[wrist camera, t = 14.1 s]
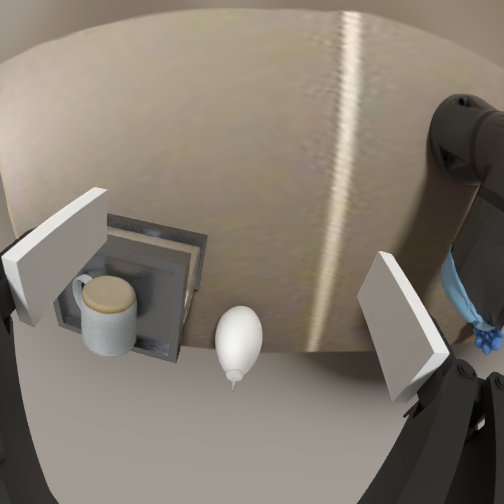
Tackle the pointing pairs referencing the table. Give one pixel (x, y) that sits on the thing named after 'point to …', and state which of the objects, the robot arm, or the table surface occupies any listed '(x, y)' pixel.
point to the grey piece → (145, 280)
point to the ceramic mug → (107, 314)
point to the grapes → (488, 339)
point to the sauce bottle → (238, 342)
